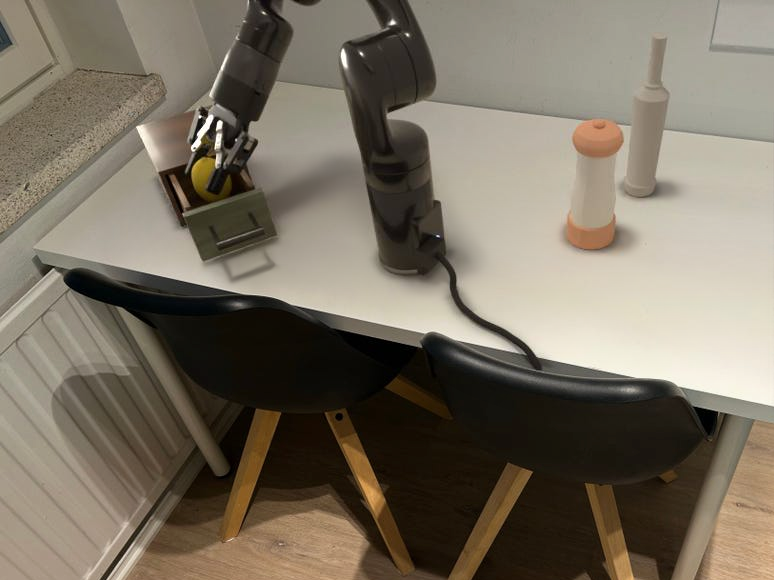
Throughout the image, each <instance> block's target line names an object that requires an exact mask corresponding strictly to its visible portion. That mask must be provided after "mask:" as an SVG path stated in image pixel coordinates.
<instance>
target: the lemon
mask: <svg viewBox="0 0 774 580" xmlns="http://www.w3.org/2000/svg"><path fill="white" fill-rule="evenodd" d="M215 164H216V159H213V158H205V157H203V158H201V159H200V160H198V161H197V162H196V163H195V164H194V166H193V168H192V182H193V185H194V188H195V190H196V192H197V193H198V194H199V196H200V197H201V198H203V199H204V200H206V201H208V202H211V203H215V202H218V201H221V200H224V199H227V198H228V196H229V195H230V193H231V189H232V183H231V178H230V175H228V177H227V179H226V182H225V184H224V186H223V189H222V191H221V192H220V194H219V195H215V194H212V193H209V192H208V191H206V190H205V186H206V184H207V182H208V179H209V177H210V175H211V172H212V170H213V168H214V167H215ZM215 168H216V167H215Z"/></svg>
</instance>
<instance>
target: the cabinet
mask: <svg viewBox="0 0 774 580" xmlns="http://www.w3.org/2000/svg"><path fill="white" fill-rule="evenodd" d="M213 105H214V104H210V105H207V106H203V107H204V108H206V109H209V110H210V109H211V108H212V107H213ZM196 110H197V108H196V109H193V110H190V111H186V112H183V113H179V114H176V115H172V116H168V117H165V118H162V119H158V120H155V121H151V122H148V123H144V124H140V125H137V126H136V129H137V130H136V131H137V132H138V135H139V136H140V139H141V141H142V144H143V146H144V148H145V150H146V153H147V155H148V158H149V160H150V163H151V164H152V167H153V170H154V172H155V174H156V176H157V178H158V180H159V183H160V185H161V187H162V189H163V191H164V193H165V195H166V198H167V200H168V202H169V204H170V206H171V208H172V210H173V212H174V214H175V216H176V218H177V221H178V223H179V225H180V226H181V227H182V226H185V225H187V224H186V221H185V219H184V217H183V214H182V213H184V211H183V209H182V207H181V205H180V202H179V200H178V198H177V195H176V193H175V190H174V188H173V186H172V183H171V181H170V178H169V176H168V174H170V173H173V172H176V171H180V170H183V169H186V168H187V165H188V163H189V160H190V158H191V156H192V153H193V151H192V145H191V144H189V143H188V142H187V140H188V136H189V133H190V130H191V126H192V123H193V120H194V116H195V113H196ZM199 132H200V131H199V130H198V132H197V135H196V138H197V139H198V138H199V137H198V133H199ZM207 145H208V144H206V146H207ZM228 150H229V149H228ZM230 150H232V148H231V149H230ZM205 157H206V156H205ZM206 158H213V159H216V158H217V153H216V151H215V149H214V150H213V151H212V152H211V154H210V155H209V156H208V157H206ZM237 159H238V161H239V160H240V158H237ZM244 170H245V172H246V174H247V175H248V177H249V178H250V180H251V181H252V182H253V179H252V177H251V174H250V170H249V168H248V163H246V165H245V167H244Z"/></svg>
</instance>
